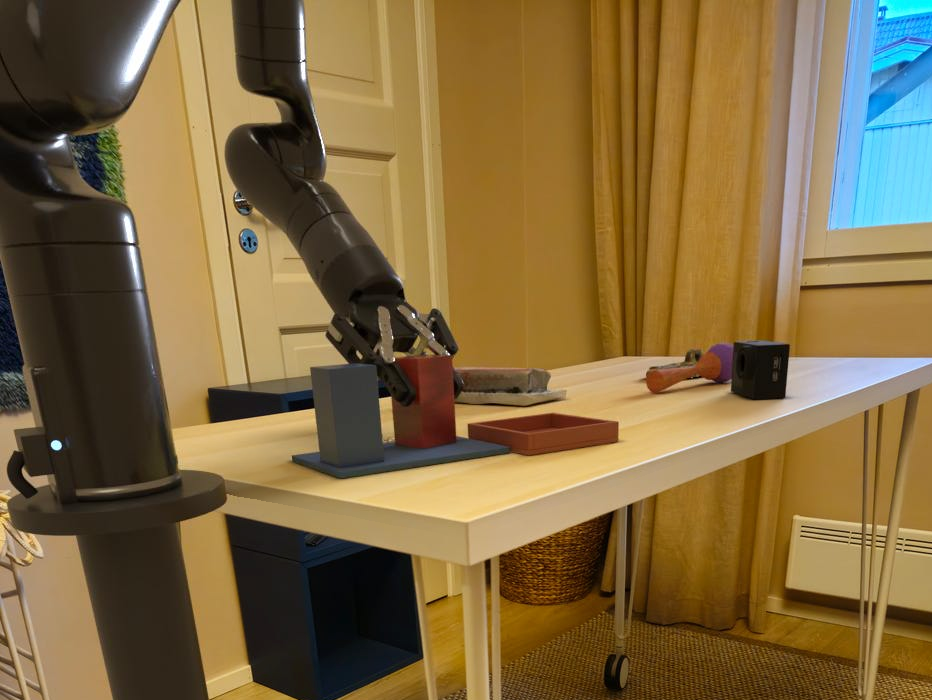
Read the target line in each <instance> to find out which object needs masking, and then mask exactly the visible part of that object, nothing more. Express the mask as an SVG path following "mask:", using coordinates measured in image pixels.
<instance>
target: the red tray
mask: <svg viewBox="0 0 932 700" xmlns="http://www.w3.org/2000/svg"><path fill="white" fill-rule="evenodd" d="M619 425H620V422H619V421H617V420H610V419H602V418H601V419H600V418H595V417H587V416H581V415H573V414H566V413H558V412H547V413H538V414H531V415H523V416H516V417H507V418H499V419H493V420H486V421H485V420H484V421H477V422H468V423H467V438H469V439H473V440H478V441H483V442H488V443H493V444H498V445H503V446H508V447H510V453H515V454H519V455H520V454H521V455H524V456H535V455H541V454H548V453H554V452H560V451H567V450H573V449H579V448H586V447H593V446H599V445H605V444H611V443H617V442H618V443H619V435H620V434H619V432H620V431H619V428H620V426H619Z"/></svg>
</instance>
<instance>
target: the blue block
mask: <svg viewBox="0 0 932 700" xmlns="http://www.w3.org/2000/svg"><path fill="white" fill-rule="evenodd" d="M309 372H310V380H311V389H312V398H313V406H314V407H313V408H314V415H315V416H314V417H315V424H316V433H317V442H318V452H320V461H321V462H324V463H327V464H329V465H332V466H335V467H338V468H343V467H350V466H357V465H363V464H370V463H377V462H384V452H383V443H384V442H383V430H382V429H383V427H382V419H381V417H382V416H381V406H380V405H381V404H380V395H379V380H378V379H377V369H376V365H368V364H357V363H353V364H349V363H344V364H343V363H342V364H330V365H318V366H317V365H316V366H310V367H309Z"/></svg>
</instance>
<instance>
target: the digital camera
mask: <svg viewBox="0 0 932 700" xmlns="http://www.w3.org/2000/svg"><path fill="white" fill-rule="evenodd" d="M732 346H733V363H732V379H731V380H730V393H734V394H737V395H739V396H742V397H745V398H749V399H752V400H772V399H773V400H775V399H785V398H786V395H787V384H788V372H789V363H790V362H789V359H790V350H791V349H790V348H791V344H789V343H785V342H778V341H770V340H745V341H744V340H743V341H734V342H733V345H732Z"/></svg>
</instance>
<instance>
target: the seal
mask: <svg viewBox="0 0 932 700" xmlns="http://www.w3.org/2000/svg"><path fill="white" fill-rule="evenodd" d="M703 355H704V354H703V351H702V349H701V348H690V349H688V350H687V351H686V354H685V356H684V361H682V362H681V361H680V362H673V363H669V364H665V365H653V366H650V367H649V368H648V370H647V371H646V373H645V378H646V377H647V374H648V373H649V372H650V371H652V370H660V369H671V368H683V367H695V366H696V364H697V363H698V361H699V360H700V358H701V357H702V356H703ZM698 376H699V375H698V374H695V375H693V376H691V377H698ZM689 378H690V377H689ZM698 378H699V377H698Z"/></svg>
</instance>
